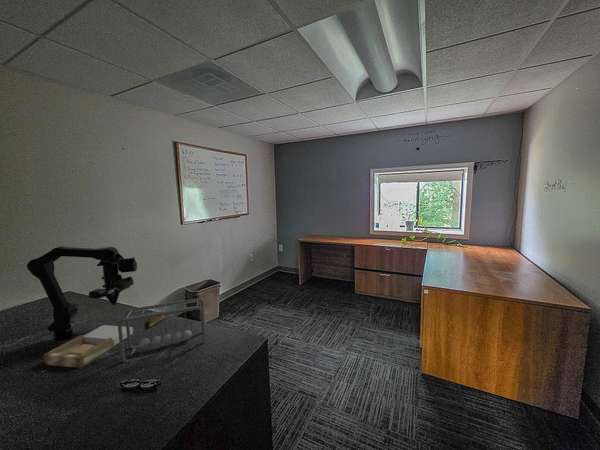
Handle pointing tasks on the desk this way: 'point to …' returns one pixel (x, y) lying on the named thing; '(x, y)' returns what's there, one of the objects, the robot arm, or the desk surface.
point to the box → (62, 357)
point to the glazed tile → (81, 349)
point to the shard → (158, 318)
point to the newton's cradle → (156, 339)
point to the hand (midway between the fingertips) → (114, 304)
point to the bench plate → (105, 334)
